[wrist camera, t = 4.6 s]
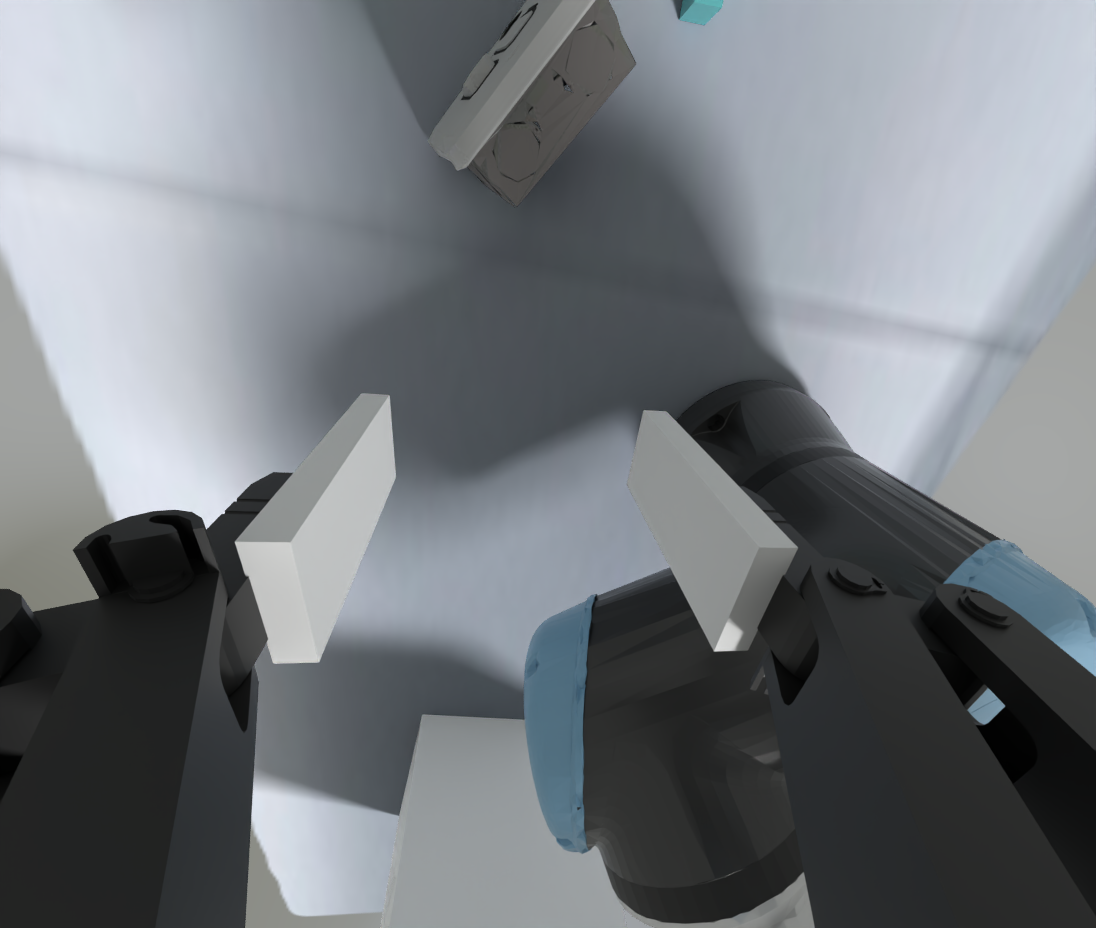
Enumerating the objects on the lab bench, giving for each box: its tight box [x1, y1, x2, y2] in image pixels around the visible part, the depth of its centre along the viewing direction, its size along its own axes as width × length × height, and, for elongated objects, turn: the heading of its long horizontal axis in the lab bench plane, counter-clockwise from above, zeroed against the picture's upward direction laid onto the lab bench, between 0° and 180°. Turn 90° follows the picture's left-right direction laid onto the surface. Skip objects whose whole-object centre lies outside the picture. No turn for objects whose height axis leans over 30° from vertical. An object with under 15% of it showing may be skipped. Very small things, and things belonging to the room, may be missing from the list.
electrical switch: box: [428, 0, 636, 207], centre depth 20 cm, size 9×5×9 cm, turn 135°
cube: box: [380, 714, 627, 928], centre depth 48 cm, size 25×21×24 cm
